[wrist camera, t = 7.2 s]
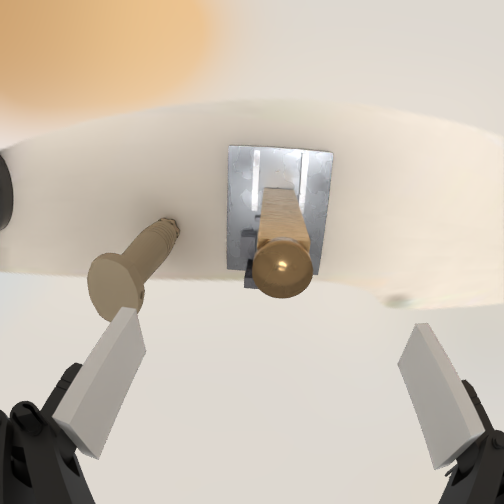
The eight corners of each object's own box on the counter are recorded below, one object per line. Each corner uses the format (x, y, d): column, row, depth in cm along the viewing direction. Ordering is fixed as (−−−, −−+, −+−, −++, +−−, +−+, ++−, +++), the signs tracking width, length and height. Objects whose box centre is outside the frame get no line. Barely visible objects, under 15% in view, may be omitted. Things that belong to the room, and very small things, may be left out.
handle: (189, 207, 34) (136, 265, 20) (184, 255, 36) (140, 331, 23) (151, 201, 34) (84, 253, 20) (149, 248, 36) (92, 317, 23)
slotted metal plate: (228, 263, 37) (220, 291, 31) (230, 144, 30) (220, 149, 25) (316, 269, 36) (323, 297, 30) (330, 151, 30) (344, 158, 24)
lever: (260, 218, 32) (250, 296, 18) (262, 186, 30) (253, 242, 16) (293, 220, 32) (308, 299, 18) (296, 188, 30) (316, 246, 16)
